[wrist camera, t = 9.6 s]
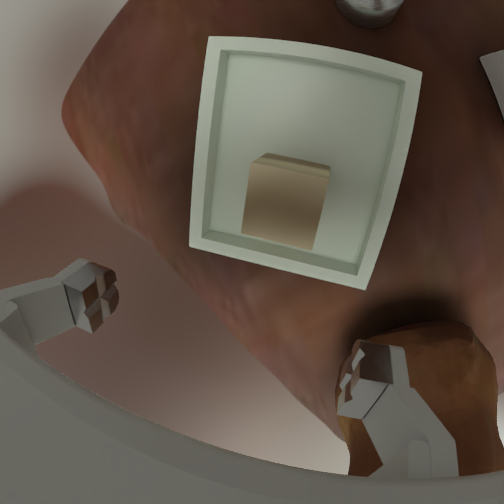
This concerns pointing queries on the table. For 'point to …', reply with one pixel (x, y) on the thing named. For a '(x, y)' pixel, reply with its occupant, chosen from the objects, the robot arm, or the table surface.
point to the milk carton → (495, 74)
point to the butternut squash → (440, 395)
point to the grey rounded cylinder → (369, 11)
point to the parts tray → (302, 148)
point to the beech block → (285, 200)
